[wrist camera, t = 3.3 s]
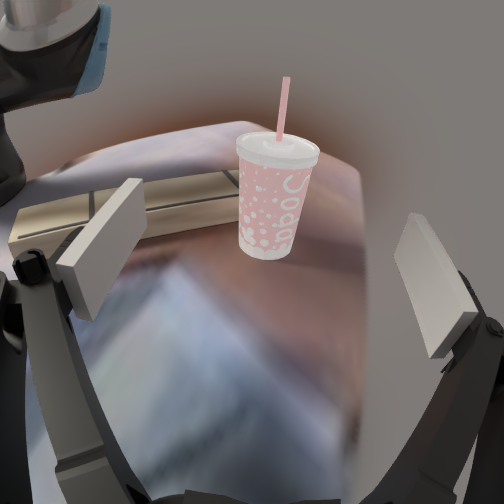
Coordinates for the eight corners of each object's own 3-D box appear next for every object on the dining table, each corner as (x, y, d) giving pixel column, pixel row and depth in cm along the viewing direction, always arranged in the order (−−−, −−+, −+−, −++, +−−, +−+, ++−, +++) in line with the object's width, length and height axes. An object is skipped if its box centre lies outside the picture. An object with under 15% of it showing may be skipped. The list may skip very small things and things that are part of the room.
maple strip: (25, 230, 26) (18, 208, 24) (256, 187, 36) (258, 166, 34) (16, 266, 22) (7, 242, 20) (282, 213, 32) (285, 190, 30)
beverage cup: (239, 270, 24) (257, 79, 16) (222, 227, 29) (232, 69, 21) (311, 261, 26) (348, 90, 18) (285, 221, 31) (307, 76, 22)
